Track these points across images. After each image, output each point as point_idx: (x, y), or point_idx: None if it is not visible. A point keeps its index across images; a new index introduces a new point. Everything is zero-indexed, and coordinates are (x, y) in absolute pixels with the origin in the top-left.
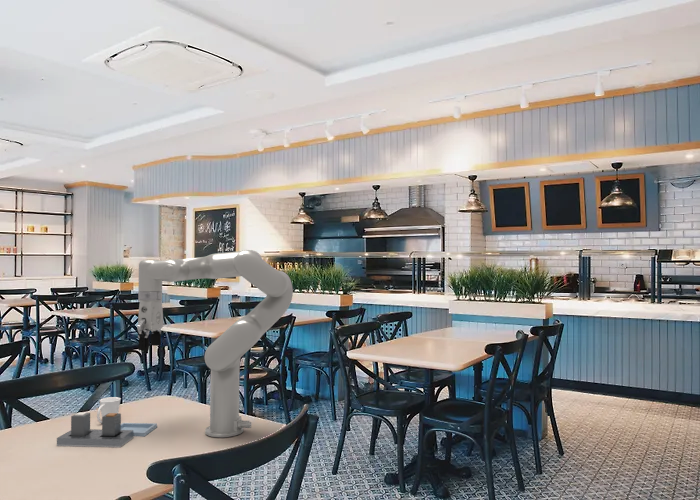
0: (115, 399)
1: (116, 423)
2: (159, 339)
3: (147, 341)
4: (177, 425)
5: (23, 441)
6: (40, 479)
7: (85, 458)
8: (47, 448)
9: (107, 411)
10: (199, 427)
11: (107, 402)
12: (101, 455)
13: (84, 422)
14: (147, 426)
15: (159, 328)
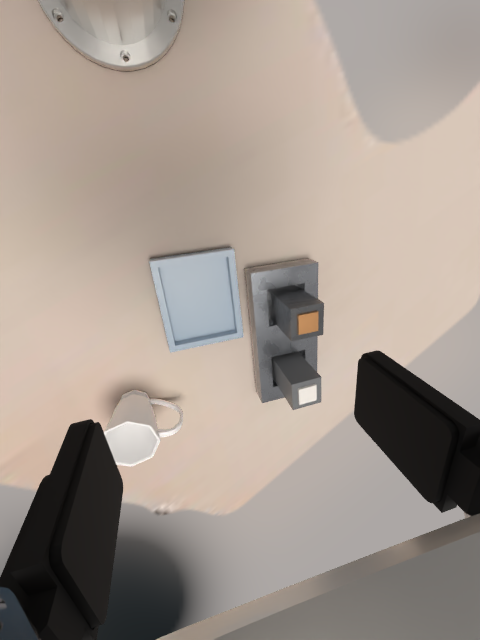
0: None
1: (305, 298)
2: (82, 475)
3: (439, 402)
4: (98, 214)
5: (282, 448)
6: (437, 297)
7: (356, 292)
8: None
9: (153, 416)
10: (91, 121)
11: (155, 432)
12: (341, 273)
13: (310, 369)
14: (162, 283)
15: (275, 627)
